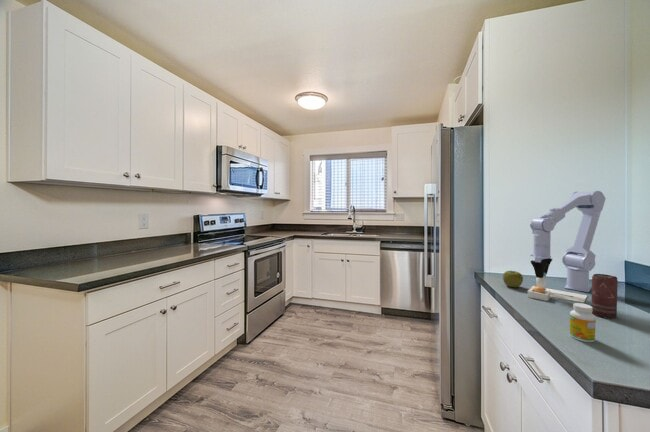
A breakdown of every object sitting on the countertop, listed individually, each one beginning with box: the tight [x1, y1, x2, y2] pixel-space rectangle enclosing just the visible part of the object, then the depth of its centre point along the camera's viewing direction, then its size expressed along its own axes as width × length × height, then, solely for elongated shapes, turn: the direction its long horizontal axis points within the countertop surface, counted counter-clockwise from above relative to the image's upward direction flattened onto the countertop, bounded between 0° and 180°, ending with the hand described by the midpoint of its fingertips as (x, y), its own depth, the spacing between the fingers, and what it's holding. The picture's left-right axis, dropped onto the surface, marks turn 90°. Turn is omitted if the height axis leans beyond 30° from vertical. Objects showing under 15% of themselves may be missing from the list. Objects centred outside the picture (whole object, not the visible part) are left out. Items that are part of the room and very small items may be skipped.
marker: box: [535, 273, 547, 290], centre depth 117 cm, size 3×3×8 cm
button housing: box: [527, 287, 552, 302], centre depth 110 cm, size 6×6×2 cm
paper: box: [526, 285, 588, 304], centre depth 113 cm, size 11×18×1 cm, turn 40°
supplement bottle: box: [569, 302, 597, 343], centre depth 77 cm, size 5×5×10 cm
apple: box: [502, 270, 524, 288], centre depth 124 cm, size 8×8×7 cm
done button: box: [533, 285, 545, 294], centre depth 110 cm, size 4×4×2 cm
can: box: [590, 273, 619, 320], centre depth 91 cm, size 6×6×14 cm
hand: (541, 275), depth 116 cm, fingers open, 7 cm apart
